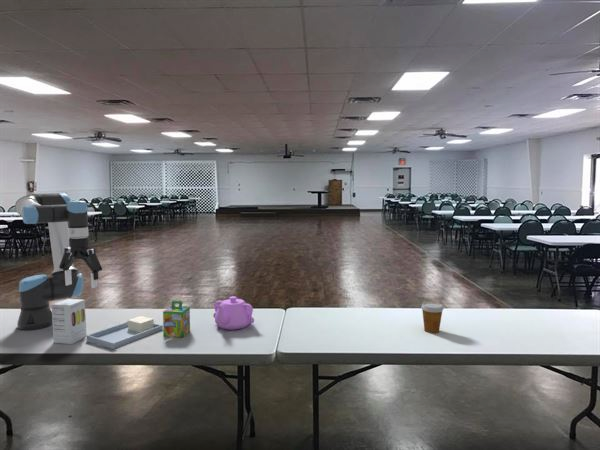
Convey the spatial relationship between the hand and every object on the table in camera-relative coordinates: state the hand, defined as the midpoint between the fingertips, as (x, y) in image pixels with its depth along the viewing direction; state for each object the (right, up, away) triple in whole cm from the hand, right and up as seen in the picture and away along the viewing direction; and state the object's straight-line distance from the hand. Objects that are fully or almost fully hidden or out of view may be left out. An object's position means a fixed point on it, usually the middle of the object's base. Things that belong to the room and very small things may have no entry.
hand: (81, 286), depth 183 cm
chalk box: (+39, -23, +7) cm, 46 cm away
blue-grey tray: (+17, -23, +5) cm, 29 cm away
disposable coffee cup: (+153, -22, +8) cm, 155 cm away
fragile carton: (+21, -21, +11) cm, 32 cm away
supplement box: (-5, -24, +1) cm, 24 cm away
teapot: (+62, -22, +15) cm, 67 cm away
